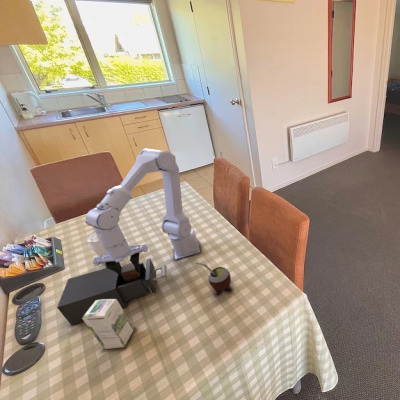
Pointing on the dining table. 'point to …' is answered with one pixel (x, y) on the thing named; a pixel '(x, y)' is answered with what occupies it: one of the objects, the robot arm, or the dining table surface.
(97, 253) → the cup
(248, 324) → the dining table surface
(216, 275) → the mate gourd
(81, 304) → the black drawer box
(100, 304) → the syrup box
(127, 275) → the block
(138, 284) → the dark grey drawer
